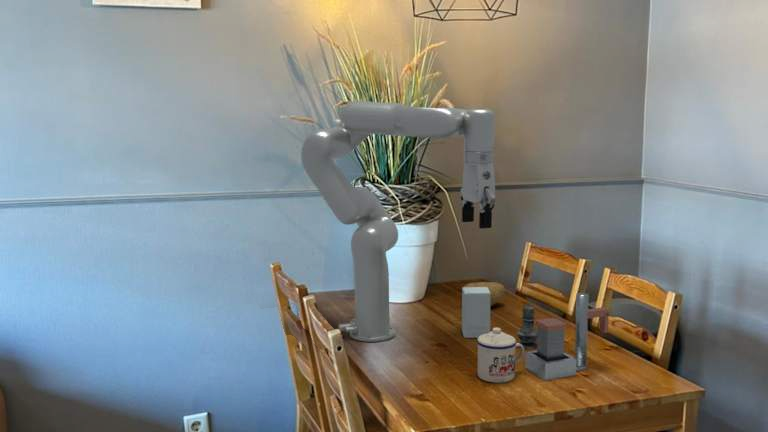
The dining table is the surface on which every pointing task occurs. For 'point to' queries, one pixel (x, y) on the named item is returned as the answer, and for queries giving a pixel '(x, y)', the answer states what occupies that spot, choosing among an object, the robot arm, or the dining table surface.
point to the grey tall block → (550, 339)
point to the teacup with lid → (497, 356)
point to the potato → (491, 290)
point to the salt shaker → (528, 328)
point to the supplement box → (475, 311)
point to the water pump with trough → (570, 363)
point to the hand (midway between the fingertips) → (476, 224)
